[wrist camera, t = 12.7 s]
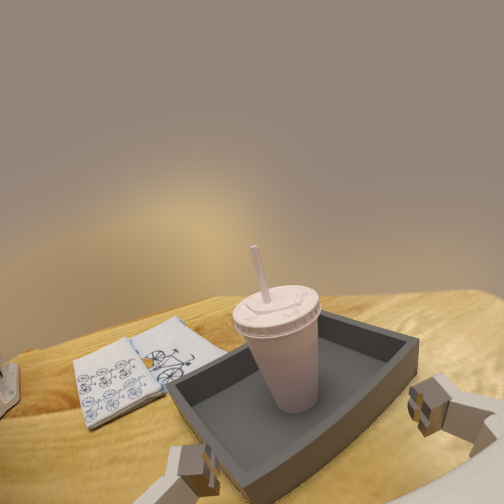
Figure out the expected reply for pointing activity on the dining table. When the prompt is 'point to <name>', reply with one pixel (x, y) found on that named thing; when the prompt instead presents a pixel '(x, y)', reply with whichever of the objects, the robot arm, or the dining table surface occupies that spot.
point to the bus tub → (300, 424)
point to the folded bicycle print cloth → (138, 369)
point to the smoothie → (283, 339)
